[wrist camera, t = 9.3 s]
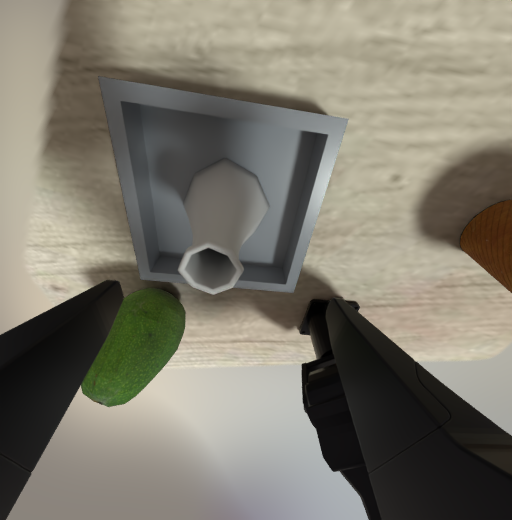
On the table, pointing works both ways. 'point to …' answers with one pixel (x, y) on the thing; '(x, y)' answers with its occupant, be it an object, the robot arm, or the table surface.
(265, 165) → the serving bin
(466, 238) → the disposable coffee cup
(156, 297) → the avocado
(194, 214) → the flask
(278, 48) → the table surface
